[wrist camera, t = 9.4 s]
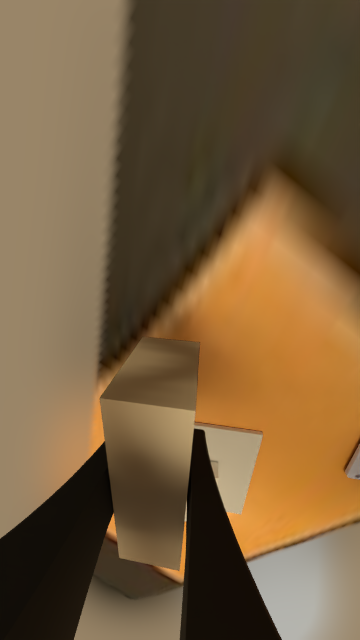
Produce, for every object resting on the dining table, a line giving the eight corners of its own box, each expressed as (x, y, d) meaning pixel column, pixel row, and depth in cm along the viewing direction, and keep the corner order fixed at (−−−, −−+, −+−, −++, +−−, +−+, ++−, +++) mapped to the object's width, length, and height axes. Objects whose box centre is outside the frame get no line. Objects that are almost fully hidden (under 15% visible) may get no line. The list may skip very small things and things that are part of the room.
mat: (262, 431, 20) (263, 435, 20) (240, 510, 25) (241, 514, 25) (131, 413, 22) (130, 415, 21) (135, 491, 27) (134, 494, 26)
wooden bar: (200, 342, 10) (195, 411, 6) (187, 470, 14) (179, 570, 9) (143, 336, 10) (99, 398, 6) (145, 463, 14) (119, 557, 10)
